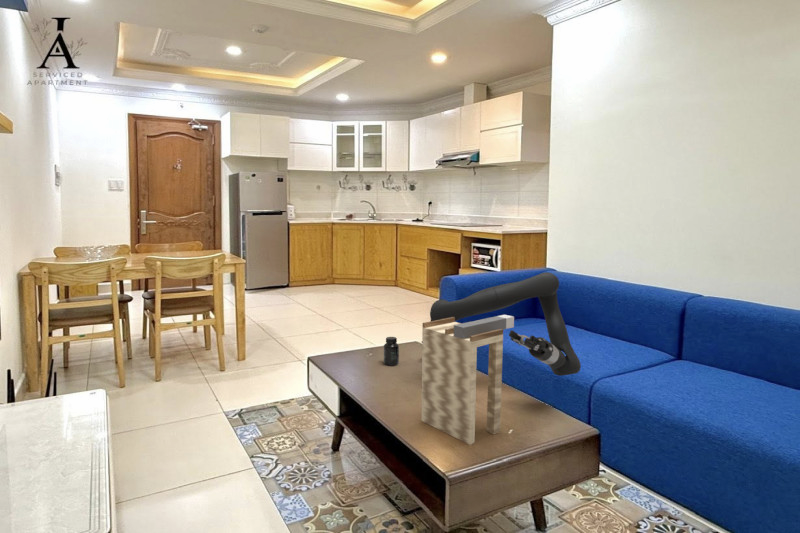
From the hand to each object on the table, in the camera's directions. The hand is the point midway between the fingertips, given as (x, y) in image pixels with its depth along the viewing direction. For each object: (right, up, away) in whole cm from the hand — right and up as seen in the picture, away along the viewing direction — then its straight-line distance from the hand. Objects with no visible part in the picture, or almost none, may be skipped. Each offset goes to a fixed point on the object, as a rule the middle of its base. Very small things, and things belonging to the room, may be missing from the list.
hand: (520, 335), depth 178 cm
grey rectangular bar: (-14, +3, -12) cm, 19 cm away
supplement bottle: (-45, -21, +57) cm, 76 cm away
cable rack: (-22, -29, -7) cm, 37 cm away
